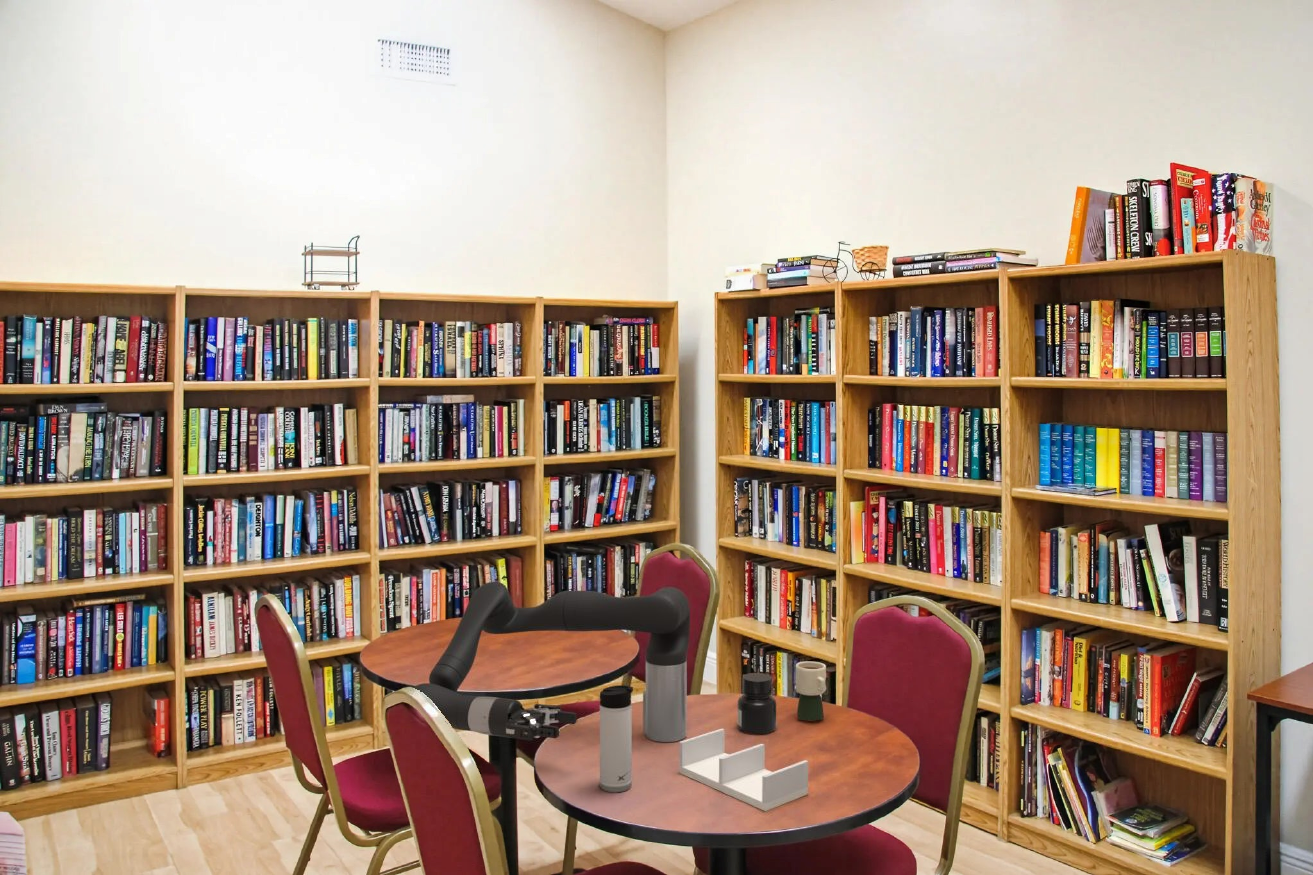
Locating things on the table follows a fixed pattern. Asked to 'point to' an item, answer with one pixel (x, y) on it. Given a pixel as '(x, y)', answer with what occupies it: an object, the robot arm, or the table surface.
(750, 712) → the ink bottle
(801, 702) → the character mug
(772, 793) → the rack
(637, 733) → the table surface
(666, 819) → the table surface
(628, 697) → the travel mug
